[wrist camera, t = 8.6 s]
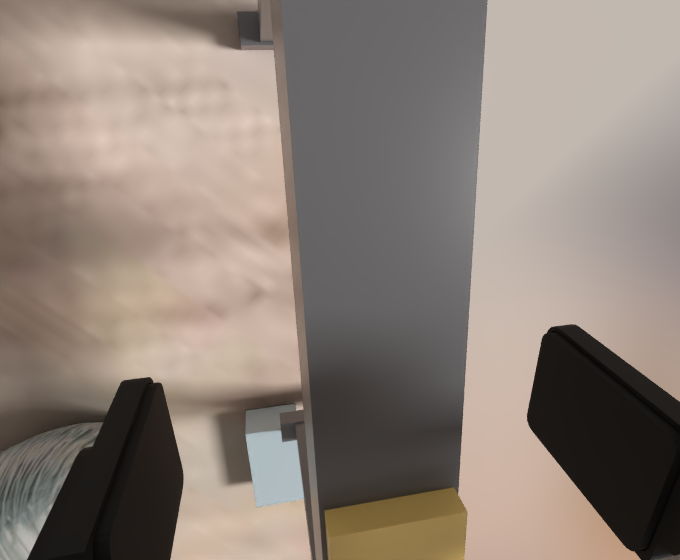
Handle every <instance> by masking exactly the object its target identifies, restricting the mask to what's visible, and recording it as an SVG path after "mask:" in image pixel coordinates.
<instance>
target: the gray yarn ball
mask: <svg viewBox="0 0 680 560" xmlns="http://www.w3.org/2000/svg"><path fill="white" fill-rule="evenodd" d="M102 424H103V422H96V423H79V424H74V425H70V426H66V427H62V428H57V429H54V430H51V431H47V432H44V433H41V434H38V435H36V436H33V437H31V438H29V439H27V440H25V441H23V442H21V443H18V444H16V445H14V446H12V447H10V448H8V449H7V450H5V451H3V452H1V453H0V560H27V559H28V556H29V554H30V552H31V550H32V548H33V546H34V544H35V542H36V540H37V538H38V535H39V533H40V531H41V529H42V527H43V525H44V523H45V521H46V519H47V517H48V514H49V512H50V510H51V508H52V506H53V504H54V502H55V500H56V498H57V496H58V493H59V491H60V489H61V487H62V485H63V483H64V481H65V479H66V477H67V475H68V473H69V470H70V468H71V466H72V464H73V462H74V460H75V458H76V456H77V455H78V453H79V451H80V450H82V449H83V448H86V447H93V444H94V442H95V440H96V438H97V435H98V433H99V431H100V429H101V426H102Z"/></svg>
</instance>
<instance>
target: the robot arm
mask: <svg viewBox="0 0 680 560" xmlns="http://www.w3.org/2000/svg"><path fill="white" fill-rule="evenodd" d="M527 421H528V424H529V426H530V428H531V430H532V431H533V432H534V434H535V435H536V436H537V437H538V439H539V440H540V441H541V442H542V444H543V445H544V446H545V447H546V449H547V450H548V451H549V452H550V454H551V455H552V456H553V457H554V458H555V460H556V461H557V462H558V464H559V465H560V466H561V467H562V469H563V470H564V471H565V472H566V474H567V475H568V476H569V477H570V479H571V480H572V481H573V482H574V484H575V485H576V486H577V487H578V489H579V490H580V491H581V492H582V494H583V495H584V496H585V497H586V499H587V500H588V501H589V502H590V503H591V505H592V506H593V507H594V509H595V510H596V511H597V512H598V514H599V515H600V516H601V517H602V518H603V520H604V521H605V522H606V523H607V525H608V526H609V527H610V528H611V530H612V531H613V532H614V533H615V535H616V536H617V537H618V538H619V540H620V541H621V542H622V543H623V545H624V546H625V547H626V548H628V549H629V550H631V551H635V553H636V554H637V555H638V556H639V558H640V559H641V560H680V402H679V401H678V400H676V399H675V398H674V397H672V396H671V395H670V394H668V393H667V392H666V391H664V390H663V389H662V388H660V387H659V386H658V385H656V384H655V383H654V382H652V381H651V380H649V379H648V378H647V377H645V376H644V375H643V374H642V373H640V372H639V371H637V370H636V369H635V368H633V367H632V366H631V365H629V364H628V363H627V362H625V361H624V360H623V359H621V358H620V357H619V356H617V355H616V354H615V353H613V352H612V351H611V350H609V349H608V348H607V347H605V346H604V345H603V344H601V343H600V342H599V341H597V340H596V339H595V338H593V337H592V336H591V335H589V334H588V333H587V332H585V331H584V330H583V329H581V328H580V327H578V326H577V325H563V326H555V327H551V328H550V329H549V330H548V332H547V333H546V334H544V336H543V338H542V342H541V347H540V352H539V357H538V362H537V367H536V372H535V377H534V382H533V388H532V393H531V398H530V403H529V408H528V413H527ZM182 489H183V469H182V464H181V460H180V456H179V452H178V448H177V444H176V440H175V436H174V431H173V427H172V423H171V419H170V415H169V411H168V407H167V403H166V398H165V394H164V390H163V387H162V384H161V383H153V380H152V379H151V378H150V377H147V378H139V379H131V380H124V381H122V382H121V384H120V386H119V388H118V390H117V393H116V395H115V397H114V399H113V402H112V404H111V406H110V408H109V411H108V413H107V415H106V417H105V420H104V422H103V424H102V426H101V429H100V431H99V433H98V435H97V438H96V440H95V442H94V444H93V447H86V448H83V449H82V450H80V451H79V453H78V455H77V456H76V458H75V460H74V462H73V464H72V466H71V468H70V470H69V473H68V475H67V477H66V479H65V481H64V483H63V485H62V487H61V489H60V491H59V493H58V496H57V498H56V500H55V502H54V504H53V506H52V508H51V510H50V512H49V514H48V517H47V519H46V521H45V523H44V525H43V527H42V529H41V531H40V533H39V535H38V538H37V540H36V542H35V544H34V546H33V548H32V550H31V552H30V554H29V556H28V559H27V560H170V558H171V552H172V546H173V540H174V535H175V529H176V523H177V518H178V512H179V506H180V501H181V495H182Z"/></svg>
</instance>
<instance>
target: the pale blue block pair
mask: <svg viewBox="0 0 680 560" xmlns="http://www.w3.org/2000/svg"><path fill="white" fill-rule="evenodd" d="M291 411H296V406H295V404H289V405H282V406H275V407H267V408H260V409H253V410H246V428H245V435H246V442H247V448H248V455H249V462H250V468H251V475H252V481H253V488H254V494H255V501H256V507H262V506H268V505H274V504H279V503H285V502H291V501H297V500H302V499H304V495H303V487H302V479H301V471H300V463H299V455H298V447H297V440H294V441H288V442H282V435H281V426H280V413H284V412H291Z"/></svg>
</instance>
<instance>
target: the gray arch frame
mask: <svg viewBox="0 0 680 560" xmlns="http://www.w3.org/2000/svg"><path fill="white" fill-rule="evenodd" d="M486 14H487V0H258V12H237V15H238V24H239V34H240V43H241V49H242V50H272V49H274V57H275V69H276V81H277V93H278V105H279V118H280V130H281V142H282V154H283V166H284V178H285V190H286V202H287V215H288V227H289V239H290V251H291V263H292V275H293V287H294V299H295V312H296V324H297V336H298V348H299V360H300V372H301V384H302V396H303V409H304V410H298V411H291V412H284V413H280V426H281V435H282V442H288V441H294V440H297V447H298V455H299V463H300V471H301V479H302V487H303V495H304V503H305V511H306V519H307V527H308V535H309V543H310V551H311V559H312V560H464V553H465V539H466V525H467V511H466V509H465V507H464V505H463V503H462V501H461V499H460V498H459V496H458V487H459V470H460V454H461V436H462V419H463V402H464V386H465V369H466V368H465V367H466V352H467V336H468V318H469V302H470V285H471V268H472V250H473V234H474V217H475V201H476V200H475V199H476V184H477V167H478V150H479V133H480V116H481V99H482V82H483V64H484V48H485V30H486Z"/></svg>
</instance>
